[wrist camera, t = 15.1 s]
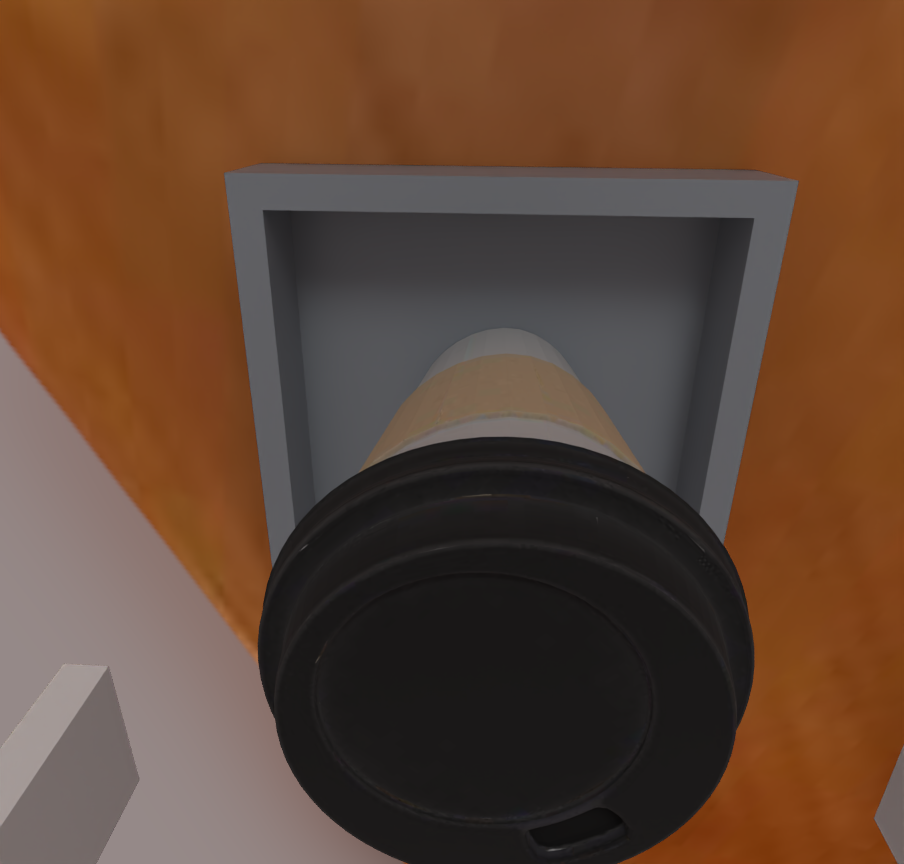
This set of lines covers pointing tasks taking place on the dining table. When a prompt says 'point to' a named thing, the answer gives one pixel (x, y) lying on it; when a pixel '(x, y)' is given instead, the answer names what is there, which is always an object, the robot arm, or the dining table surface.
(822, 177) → the dining table surface
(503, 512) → the coffee cup
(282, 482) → the tray
